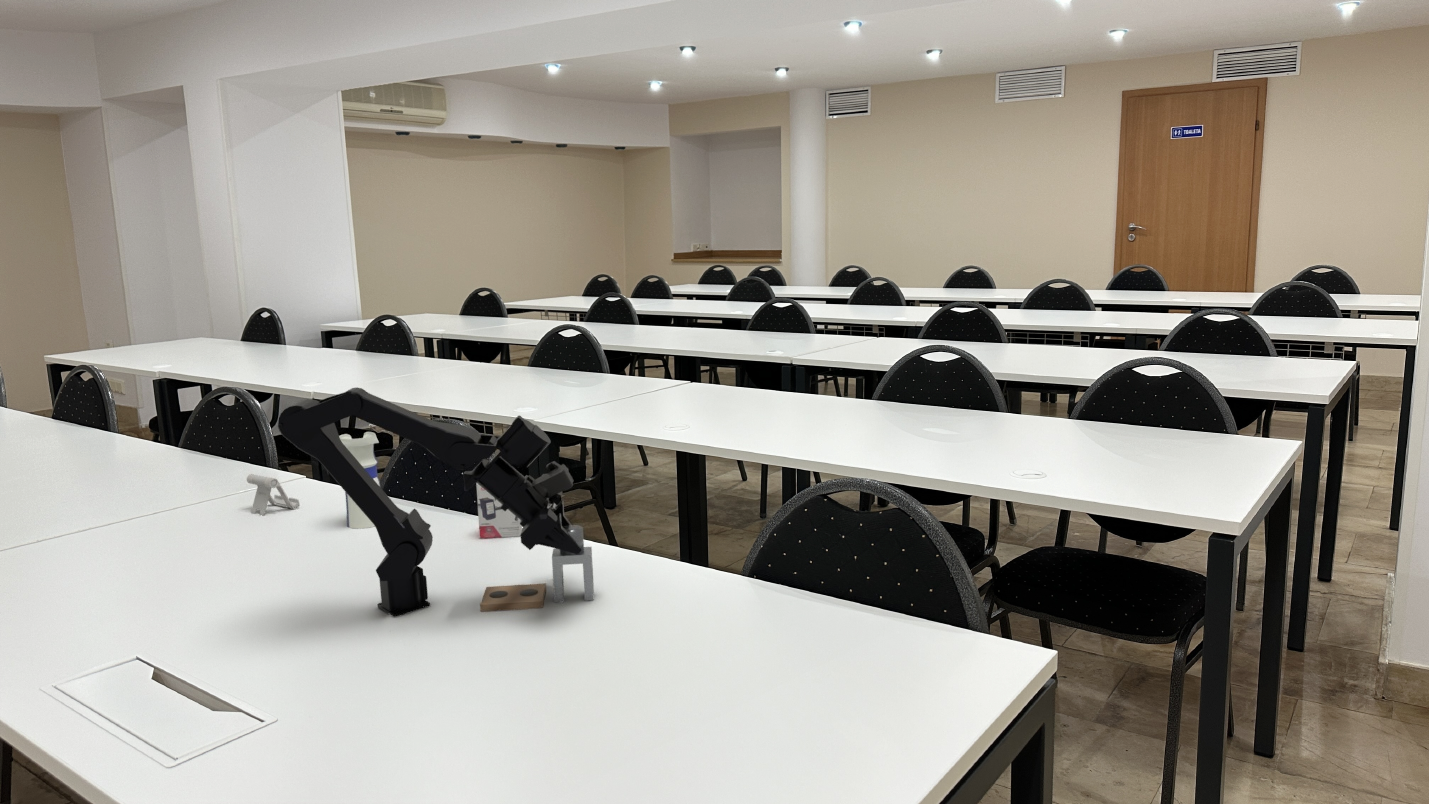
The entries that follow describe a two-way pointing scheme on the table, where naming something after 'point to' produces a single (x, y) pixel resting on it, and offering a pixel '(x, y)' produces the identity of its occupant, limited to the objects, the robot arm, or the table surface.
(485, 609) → the bolt plate
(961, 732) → the table surface
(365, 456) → the water bottle
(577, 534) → the dividers
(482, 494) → the ink box
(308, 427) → the robot arm
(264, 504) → the portable electronic device stand
